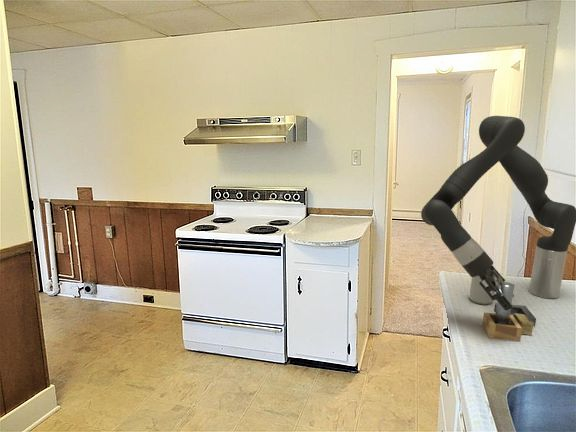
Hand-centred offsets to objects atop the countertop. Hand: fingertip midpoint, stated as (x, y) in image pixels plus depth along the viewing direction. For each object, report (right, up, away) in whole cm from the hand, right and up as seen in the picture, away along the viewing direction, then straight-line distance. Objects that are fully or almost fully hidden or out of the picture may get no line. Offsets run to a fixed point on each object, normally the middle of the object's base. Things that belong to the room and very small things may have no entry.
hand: (510, 303), depth 116 cm
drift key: (+6, -9, +5) cm, 12 cm away
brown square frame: (-1, -9, +3) cm, 10 cm away
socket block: (+8, -7, +12) cm, 16 cm away
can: (+3, -4, +24) cm, 25 cm away
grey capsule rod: (-2, -9, +3) cm, 10 cm away
